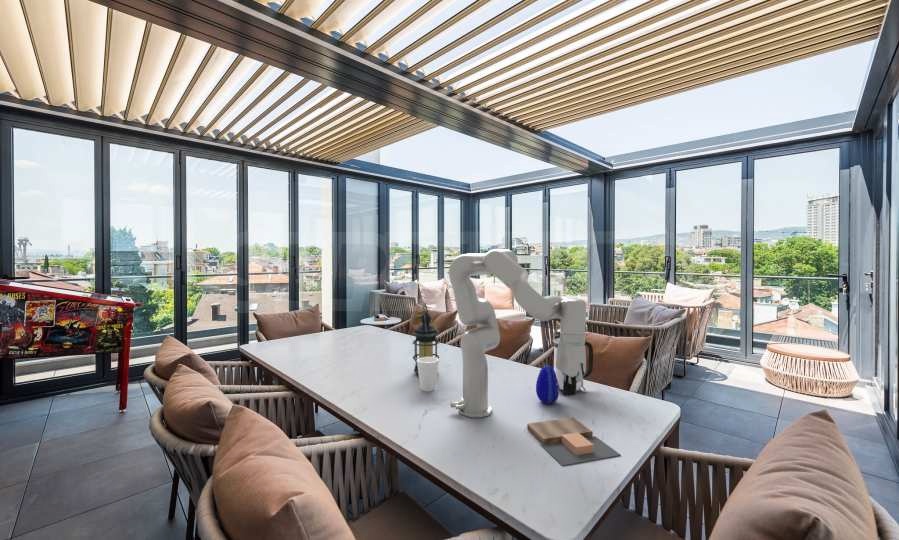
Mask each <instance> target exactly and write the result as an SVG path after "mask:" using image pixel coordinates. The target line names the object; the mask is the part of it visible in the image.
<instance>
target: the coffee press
mask: <svg viewBox="0 0 899 540" xmlns="http://www.w3.org/2000/svg"><path fill="white" fill-rule="evenodd" d="M560 329H561V326H560V327H557V328H556V329H555V330H554V332H553V337H552V338H553V339H552V343H553V362H552V363H553V367H552V368H553V369H554V371H555V373H556V377H557V380H558V384H559V388H560V389H559V390H562V396H567V395H566V394H564V388H565V382H566V381H564V375H563V373H562V372H561V371H560V370H558V369H557V368H556V356H557V348H558V343H559V340H560ZM584 345H585V347H587V348H588V358H587V359H588V363H587V369H586V372H585V375H584V376H582V377H583V379H584V378H587V377H589V376H590V375H591V374H592V372H593V369H594V348H593V345H592V344H591V342H589V341H586V340H585V344H584ZM582 389H583V390H582ZM576 391H580V392H581V393H583V394H585V393H586V388H585V387H584V380H583V381H581V382H578V383H576Z"/></svg>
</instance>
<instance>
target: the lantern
mask: <svg viewBox="0 0 899 540" xmlns="http://www.w3.org/2000/svg"><path fill="white" fill-rule="evenodd" d="M422 309H423V313H422V314H421V316H420V321H421V323H422V324H420V325H418V326H417V327H415V329H414V330H413V331H412V336H414V337H415V339H414V340H413V341H412V344H413V345H414V355H413V356H412V360H414V362H415V363H414V364H415V365H414V370H413V372H414V373H416V374H418V375H419V373H418V366H417V359H418V358H421V357H434V356H435V358H438V360H439V359H440V355H438V345H439V344H440V341H439V340H438V338H437V336H438V335H439V333H440V330H439V329H438V327H435V326H434V325H432V324H431V320H432V317H431V314H430V313H429V312H428V305H426V303H424V302H422ZM434 342H435V343H434ZM434 346H435V347H434ZM434 348H435V349H434ZM437 371H438V369H437Z"/></svg>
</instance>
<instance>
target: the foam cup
mask: <svg viewBox="0 0 899 540" xmlns="http://www.w3.org/2000/svg"><path fill="white" fill-rule="evenodd" d="M417 358H418V359H417V366H418V373H419V374H418V373H417V374H418V380H419V387H420V390H421V391H423V392H433V391H434V390H435V389H436V385H437V378H438V377H437V375H438V370H437V369H438V367H439V363H440V362H439V359H438V358H435V357H434V356H433V357H421V358H419V357H417ZM432 390H433V391H432Z"/></svg>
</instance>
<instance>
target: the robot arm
mask: <svg viewBox="0 0 899 540" xmlns="http://www.w3.org/2000/svg"><path fill="white" fill-rule="evenodd" d="M485 275H493V276H494V277H495V278H497V279H498V280H499V281H500V282H502V284H504V285H505V286H506V287H507V288H509V290H510V291H511V294H512V296H513V297H514V298H513V299H515V301H516V303H517V304H518V306H519V307H521V309H523V310H524V311H525V312H526V313H527V314H528V315H529V316H530V317H532V319H533V318H534V319H535V320H537V321H540V322H547V321H551V320H553V319H559V318H560V327H561V329H560V340H559V343H558V348H557V356H556V368H557V369H558V370H560V371H561V372H562V373H563V375H564V381H566V382H565V388H564V394H566V395H565V396H567V397H569V396H570V397H571V396H575V395H577V390H576V383H578V382H581V381H583V382H584V378H583V377H582V376H584V375H585V372H587V354H586V353H587V351H586V345H584V344H585V341H586V327H587V326H586V325H587V302H586V301H585V300H584V299H581V298H574V297H572V298H571V297H570V298H569V297H564V296H560V295H556V294H551V295H546V296H542V295H541V293H538V291H536V290H535V289H534V288H533V287H532V286H531V284H530V283H529V280H528V279H529V275H530V274H529V272H528V270H526V269H525V268H524V267H522V266H521V265H520V264H519V259H518V256H517V254H516V253H515V252H514V251H513V250H510V249H507V248H495V249H491V250H489V251H488V252H486V253H485V252H484V253H464V254H460V255H458V256H456V257H454V259H452V261H451V263H450V266H449V269H448V277H449V281H450V285H451V287H452V290H453V295H454V301H455V304H456V309H457V315H458V319H459V321H460V323H461V324H463V325H464V326H475V325H476V327H475V328H471V329H468V330H466V331H465V332H464V333H463V334H462V335H461V337H460V350H461V355H462V357H461V358H462V397H460V400H458V401H453V402H450V403H449V405H450V408H455V410H458V412H459V414H461V415H462V416H464V417H468V418H472V419H473V418H474V419H475V418H477V419H480V418H485V417H488V416H489V415H491V414H492V411H493V408H492V407H491V405H489V403H488V401H489V400H488V399H489V363H488V359H487V356H486V352H488V351H491V350H493V349H495V348H497V347H498V346H499V344H500V340H501V335H500V329H499V325H498V320H497V316H496V310H495V307H494V305H493V304H492V303H491V302H490V301H489V300H488V299H485V298H478V297H479V296H478V294H477V289H476V286H475V285H474V282H473V281H472V279H470V278H471V277H475V276H476V277H477V276H485Z"/></svg>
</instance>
